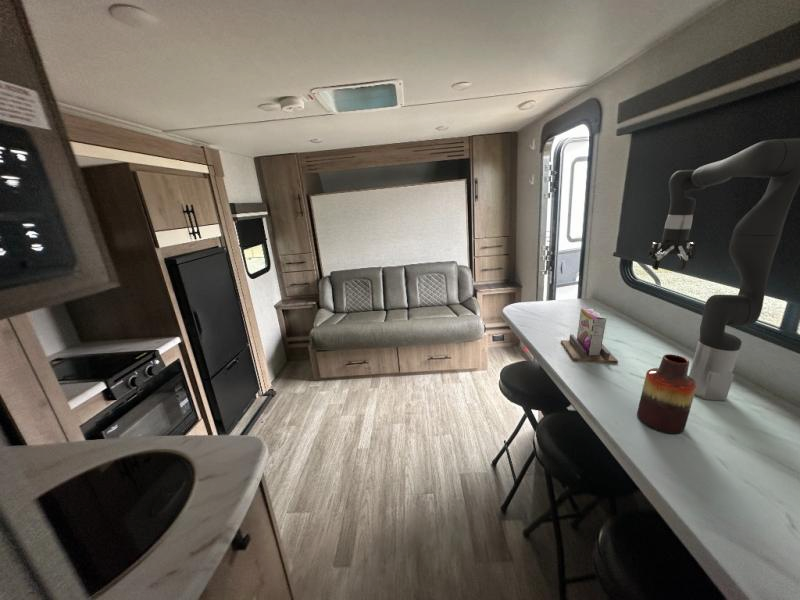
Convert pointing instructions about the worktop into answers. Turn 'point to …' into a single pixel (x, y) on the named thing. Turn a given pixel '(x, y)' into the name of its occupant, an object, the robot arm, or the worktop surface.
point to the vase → (667, 396)
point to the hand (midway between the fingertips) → (667, 269)
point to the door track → (581, 355)
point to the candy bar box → (591, 331)
